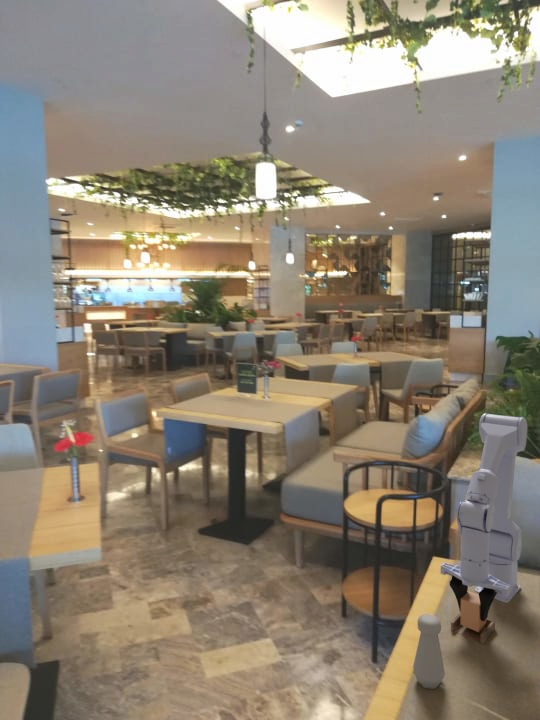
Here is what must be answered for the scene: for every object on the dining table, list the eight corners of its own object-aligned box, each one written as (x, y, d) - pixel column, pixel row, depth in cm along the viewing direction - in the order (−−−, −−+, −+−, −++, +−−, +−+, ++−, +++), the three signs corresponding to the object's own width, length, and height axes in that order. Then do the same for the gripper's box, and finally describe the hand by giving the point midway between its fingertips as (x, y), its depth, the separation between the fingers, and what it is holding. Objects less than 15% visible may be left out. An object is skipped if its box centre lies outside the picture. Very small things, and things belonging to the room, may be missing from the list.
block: (468, 616, 119) (468, 591, 118) (486, 623, 116) (486, 597, 115) (460, 624, 116) (460, 598, 115) (478, 632, 113) (479, 606, 113)
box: (463, 617, 121) (463, 608, 121) (494, 630, 116) (494, 621, 116) (450, 631, 116) (450, 622, 116) (482, 645, 112) (482, 635, 111)
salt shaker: (446, 694, 98) (447, 629, 97) (414, 690, 100) (414, 626, 98) (442, 672, 104) (443, 610, 102) (412, 669, 105) (412, 608, 104)
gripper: (434, 552, 116) (433, 609, 118) (502, 574, 106) (500, 637, 108) (448, 540, 121) (448, 596, 123) (514, 561, 111) (512, 621, 113)
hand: (473, 614), depth 116 cm, fingers closed on block, 4 cm apart
